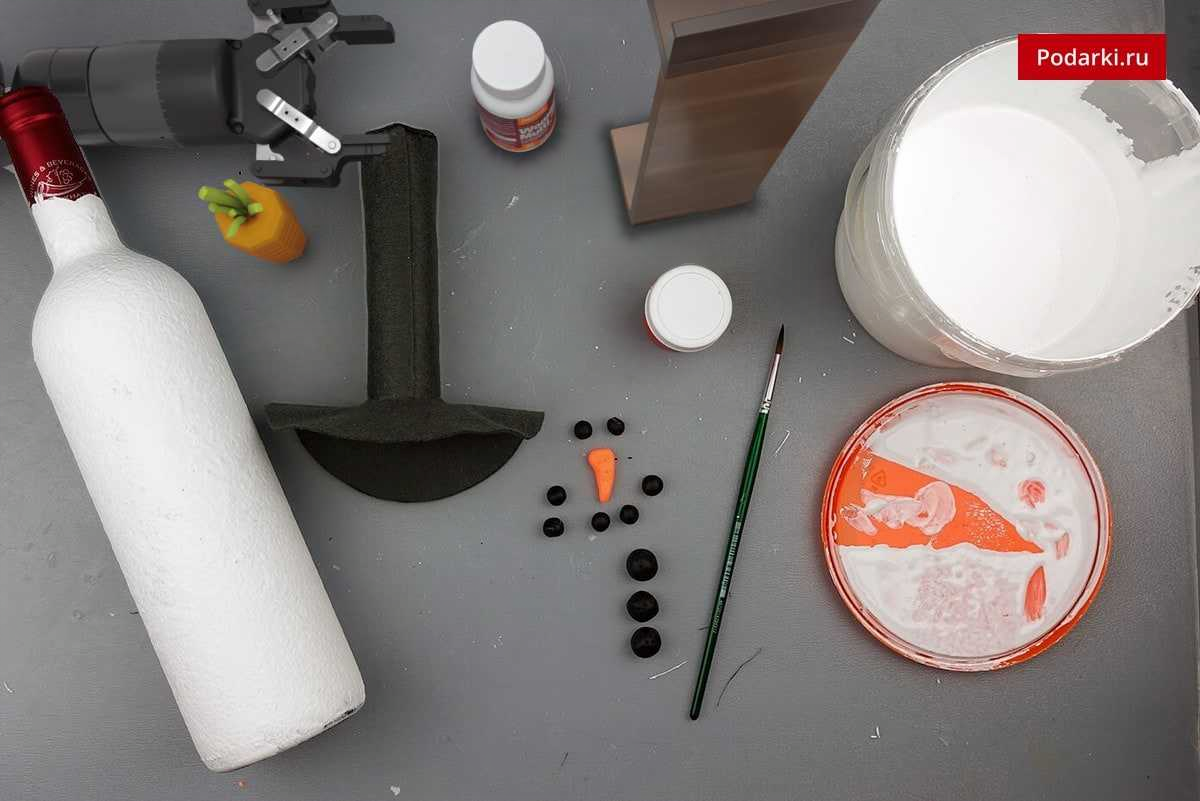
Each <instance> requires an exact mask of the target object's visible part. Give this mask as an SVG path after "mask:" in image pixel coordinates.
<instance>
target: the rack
mask: <svg viewBox="0 0 1200 801" xmlns="http://www.w3.org/2000/svg"><path fill="white" fill-rule="evenodd" d="M881 2H882V0H646V4H647V8H648V13H649V16H650V20H651V25H652V29H653V33H654V37H655V43H656V47H657V50H658V55H659V59H660V62H661V63H662V68H663V72H664V76H665V79H666V80H667V79H671V78H676V77H681V76H686V75H691V74H695V73H700V72H705V71H710V70H714V69H719V68H724V67H729V66H733V65H738V64H743V63H748V62H753V61H757V60H762V59H767V58H772V57H776V56H781V55H786V54H791V53H796V52H800V51H805V50H810V49H815V48H819V47H824V46H829V45H834V44H838V43H843V42H848V41H853V40H855V41H856V40H857V39H858V38H859V36H860V35H861V33H862V32H863V30H864V29H865V26H866V25H867V23H868V22H869V21H870V19H871V17H872V16H873V14H874V13H875V11H876V10H877V8H878V7H879V6H880V4H881ZM661 63H660V64H661Z"/></svg>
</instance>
